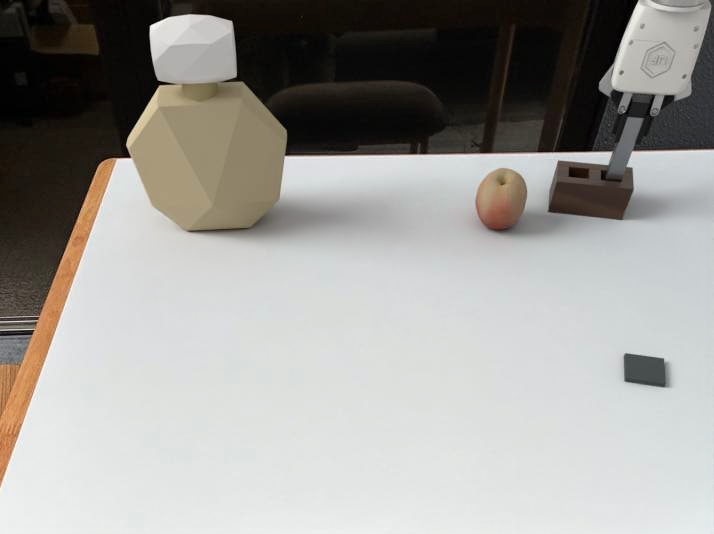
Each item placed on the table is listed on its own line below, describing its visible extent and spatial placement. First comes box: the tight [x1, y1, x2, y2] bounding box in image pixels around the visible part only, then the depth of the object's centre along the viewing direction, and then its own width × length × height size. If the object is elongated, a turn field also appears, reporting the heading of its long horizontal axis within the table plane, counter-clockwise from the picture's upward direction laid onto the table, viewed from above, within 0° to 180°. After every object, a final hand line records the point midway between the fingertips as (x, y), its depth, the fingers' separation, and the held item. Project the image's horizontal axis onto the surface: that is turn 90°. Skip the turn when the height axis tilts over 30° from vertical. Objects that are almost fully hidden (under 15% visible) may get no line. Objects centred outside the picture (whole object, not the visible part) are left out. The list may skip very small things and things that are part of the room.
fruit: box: [474, 167, 528, 230], centre depth 103 cm, size 8×8×8 cm
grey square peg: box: [603, 94, 650, 182], centre depth 101 cm, size 2×2×14 cm
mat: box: [623, 352, 667, 388], centre depth 86 cm, size 5×5×1 cm
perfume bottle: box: [125, 13, 288, 231], centre depth 97 cm, size 12×24×28 cm, turn 93°
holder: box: [547, 159, 635, 221], centre depth 107 cm, size 7×12×5 cm, turn 76°
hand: (626, 138), depth 99 cm, fingers closed on grey square peg, 2 cm apart
